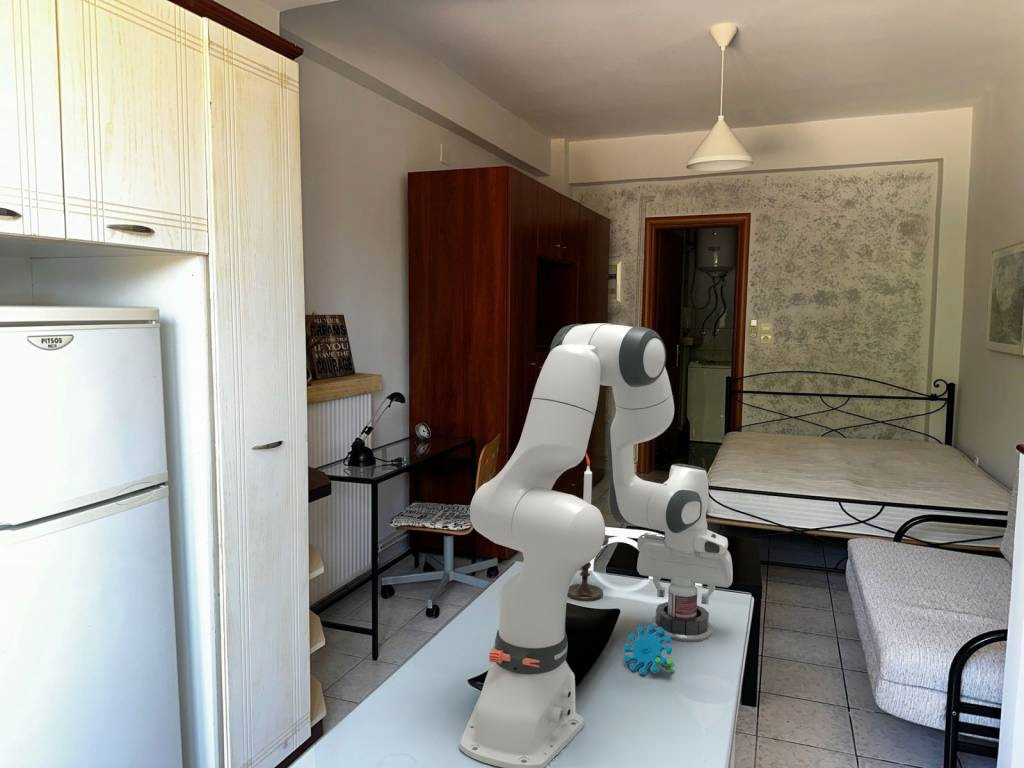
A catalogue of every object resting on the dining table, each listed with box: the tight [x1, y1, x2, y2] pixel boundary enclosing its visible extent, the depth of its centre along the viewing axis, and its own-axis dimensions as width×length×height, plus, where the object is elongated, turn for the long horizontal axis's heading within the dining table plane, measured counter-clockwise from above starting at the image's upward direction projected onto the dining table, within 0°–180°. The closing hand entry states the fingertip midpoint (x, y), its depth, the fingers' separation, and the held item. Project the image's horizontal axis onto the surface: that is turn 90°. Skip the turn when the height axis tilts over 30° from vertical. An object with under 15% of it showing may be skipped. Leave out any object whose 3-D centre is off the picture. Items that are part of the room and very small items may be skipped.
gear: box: [622, 623, 675, 676], centre depth 140 cm, size 11×6×10 cm
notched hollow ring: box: [651, 601, 714, 643], centre depth 157 cm, size 13×13×4 cm
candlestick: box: [567, 452, 610, 602], centre depth 175 cm, size 11×11×35 cm
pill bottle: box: [667, 576, 698, 619], centre depth 157 cm, size 6×6×11 cm
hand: (682, 599), depth 157 cm, fingers open, 8 cm apart
